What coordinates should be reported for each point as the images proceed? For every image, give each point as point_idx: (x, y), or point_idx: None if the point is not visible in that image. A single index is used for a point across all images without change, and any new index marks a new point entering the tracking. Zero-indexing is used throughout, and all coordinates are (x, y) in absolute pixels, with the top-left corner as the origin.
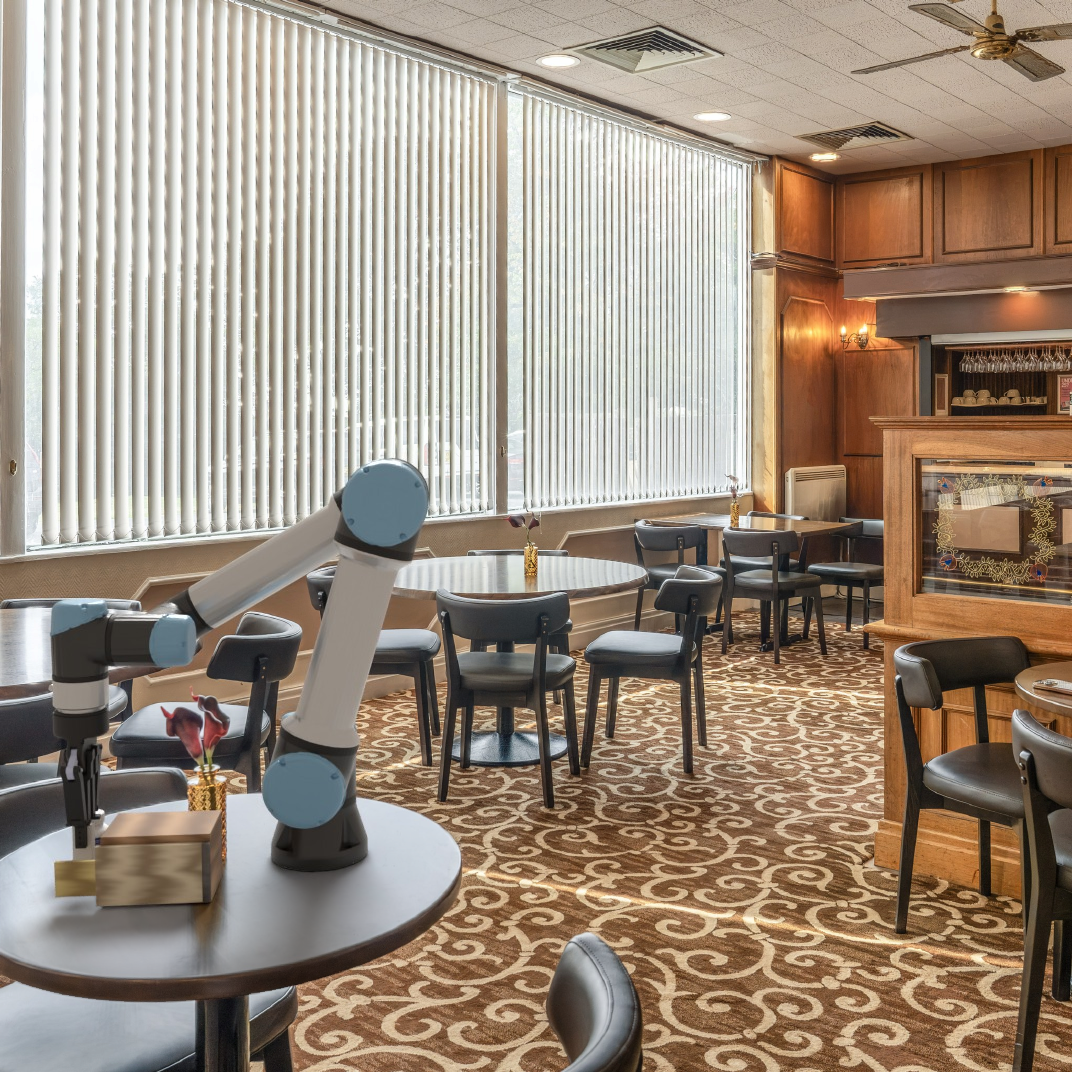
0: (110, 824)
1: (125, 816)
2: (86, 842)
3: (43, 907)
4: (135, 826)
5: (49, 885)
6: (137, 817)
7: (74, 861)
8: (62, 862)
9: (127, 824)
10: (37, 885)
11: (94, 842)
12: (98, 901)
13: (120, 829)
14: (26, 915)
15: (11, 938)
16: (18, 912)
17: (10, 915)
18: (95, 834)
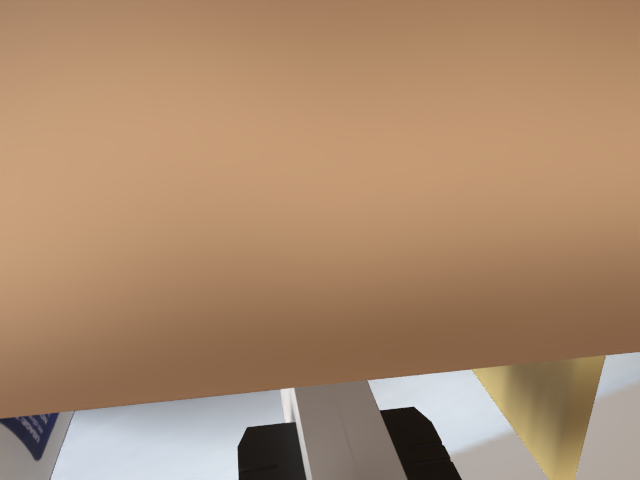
0: (362, 376)
1: (82, 309)
2: (405, 433)
3: (413, 379)
4: (477, 77)
5: (202, 436)
6: (116, 144)
7: (592, 391)
8: (582, 443)
9: (384, 200)
10: (201, 473)
11: (307, 394)
12: None
13: (544, 229)
14: (471, 404)
15: (636, 377)
16: (441, 435)
17: (460, 448)
18: (2, 454)
